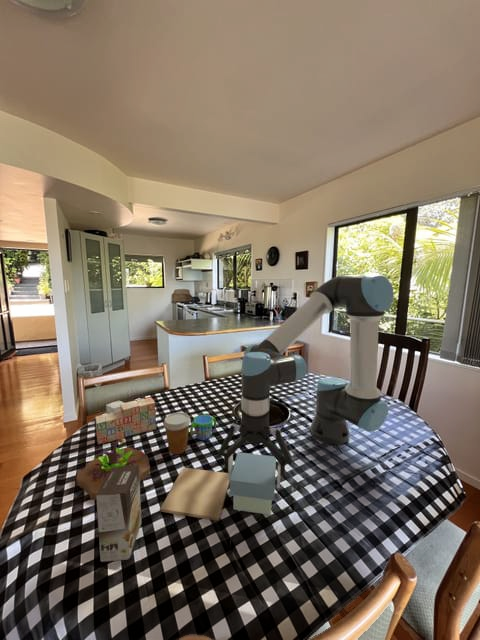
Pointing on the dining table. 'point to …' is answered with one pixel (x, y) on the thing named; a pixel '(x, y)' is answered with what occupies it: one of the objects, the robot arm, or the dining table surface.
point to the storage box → (252, 504)
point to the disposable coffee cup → (177, 432)
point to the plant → (110, 467)
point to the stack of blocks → (127, 420)
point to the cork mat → (197, 494)
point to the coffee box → (119, 513)
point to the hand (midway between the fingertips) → (254, 481)
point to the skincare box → (114, 407)
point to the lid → (253, 476)
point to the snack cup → (203, 426)
